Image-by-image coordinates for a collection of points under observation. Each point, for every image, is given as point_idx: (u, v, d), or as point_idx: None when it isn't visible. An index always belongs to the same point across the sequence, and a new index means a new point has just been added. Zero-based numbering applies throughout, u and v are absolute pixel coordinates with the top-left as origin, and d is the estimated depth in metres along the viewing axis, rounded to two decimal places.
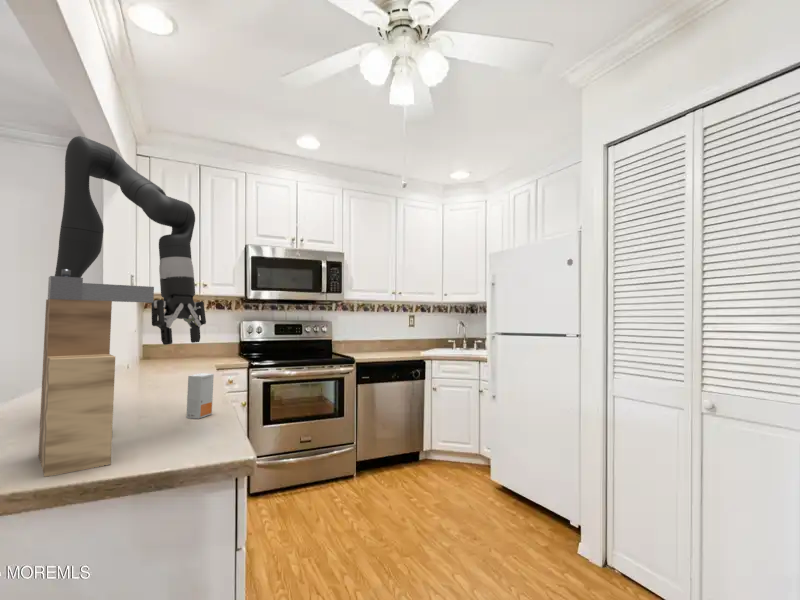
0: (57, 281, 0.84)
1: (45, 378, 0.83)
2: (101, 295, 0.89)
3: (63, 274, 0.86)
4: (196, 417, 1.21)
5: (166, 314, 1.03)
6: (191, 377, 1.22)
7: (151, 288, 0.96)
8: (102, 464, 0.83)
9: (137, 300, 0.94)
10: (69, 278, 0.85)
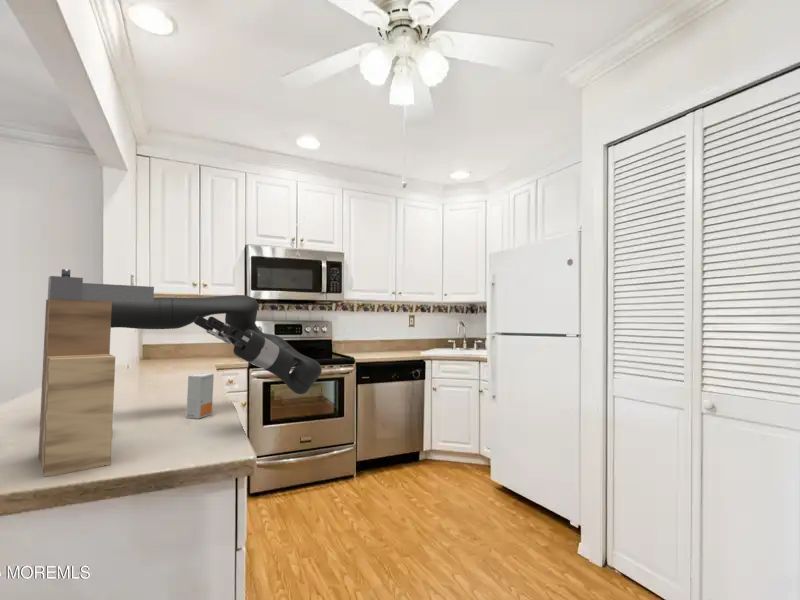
0: (57, 281, 0.84)
1: (45, 378, 0.83)
2: (101, 295, 0.89)
3: (63, 274, 0.86)
4: (196, 417, 1.21)
5: (234, 329, 1.07)
6: (191, 377, 1.22)
7: (151, 288, 0.96)
8: (102, 464, 0.83)
9: (137, 300, 0.94)
10: (69, 278, 0.85)
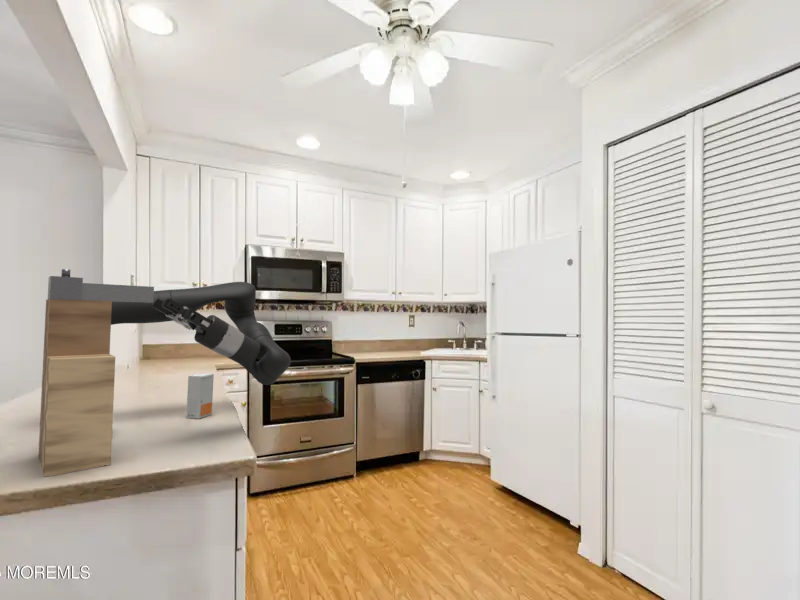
0: (57, 281, 0.84)
1: (45, 378, 0.83)
2: (101, 295, 0.89)
3: (63, 274, 0.86)
4: (196, 417, 1.21)
5: (194, 314, 1.01)
6: (191, 377, 1.22)
7: (151, 288, 0.96)
8: (102, 464, 0.83)
9: (137, 300, 0.94)
10: (69, 278, 0.85)
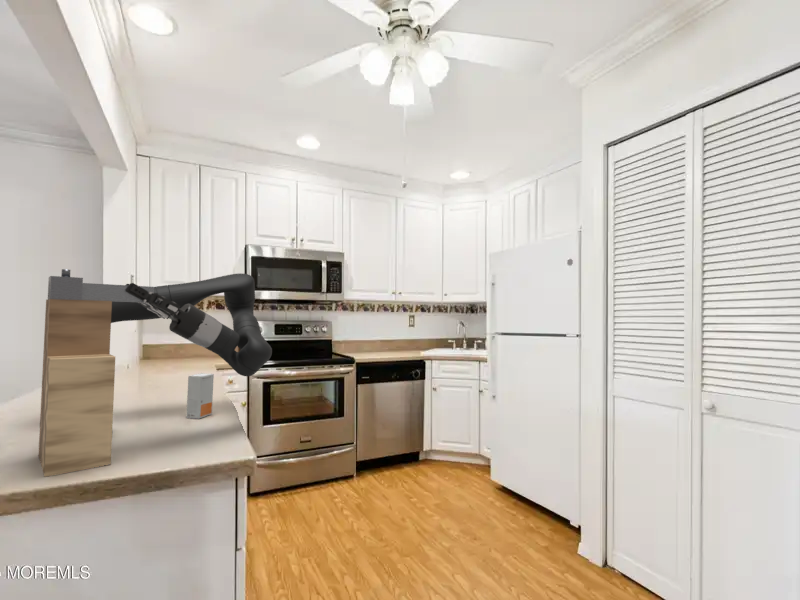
0: (57, 281, 0.84)
1: (45, 378, 0.83)
2: (101, 295, 0.89)
3: (63, 274, 0.86)
4: (196, 417, 1.21)
5: None
6: (191, 377, 1.22)
7: (151, 288, 0.96)
8: (102, 464, 0.83)
9: (137, 300, 0.94)
10: (69, 278, 0.85)
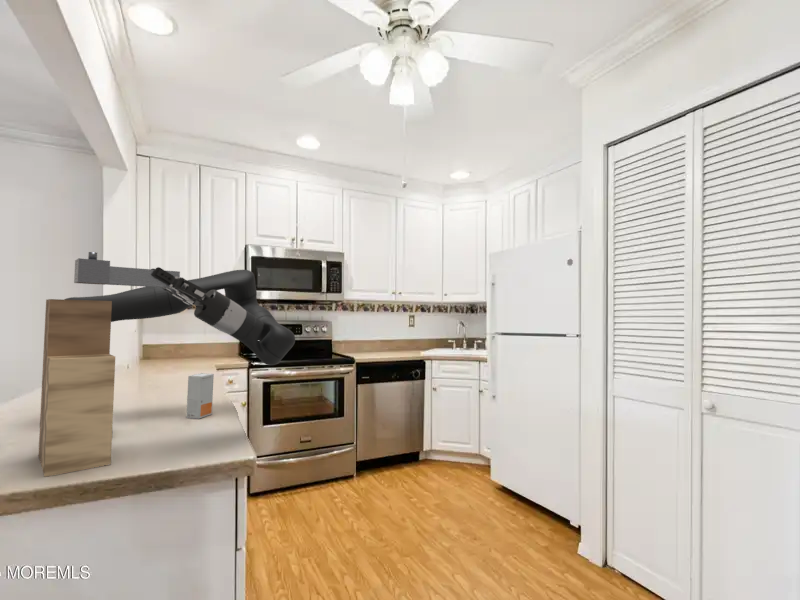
0: (85, 264, 0.82)
1: (45, 378, 0.83)
2: (128, 279, 0.88)
3: (90, 257, 0.84)
4: (196, 417, 1.21)
5: None
6: (191, 377, 1.22)
7: (177, 273, 0.94)
8: (102, 464, 0.83)
9: (163, 285, 0.92)
10: (96, 261, 0.83)
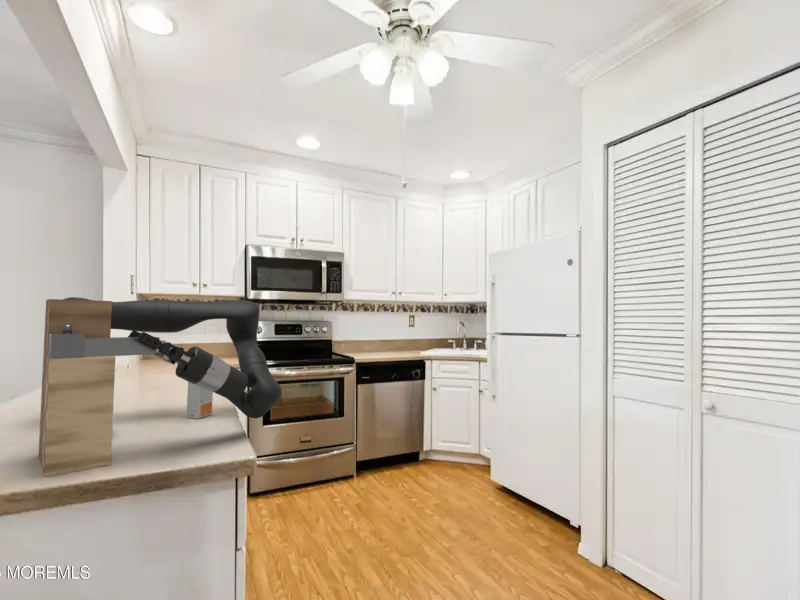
0: (58, 339, 0.79)
1: (45, 378, 0.83)
2: (104, 351, 0.85)
3: (64, 330, 0.81)
4: (196, 417, 1.21)
5: None
6: None
7: None
8: (102, 464, 0.83)
9: (142, 353, 0.89)
10: (71, 335, 0.80)
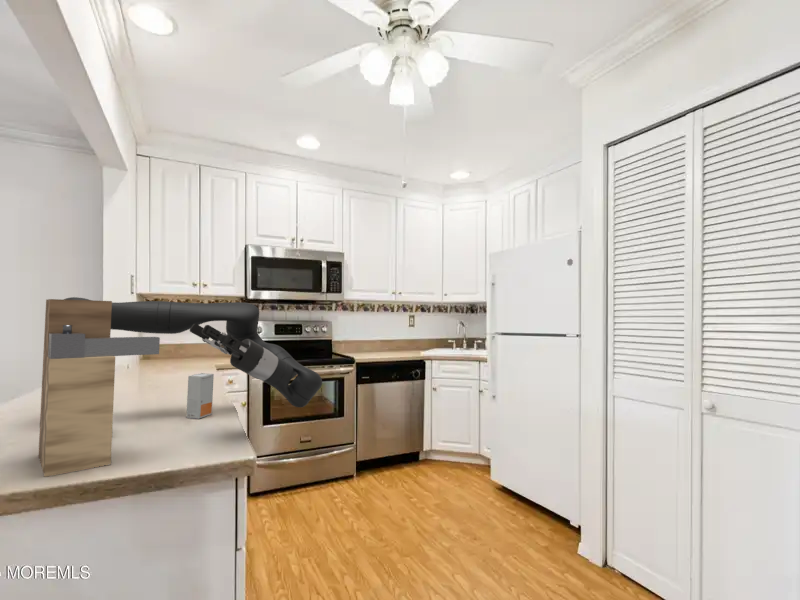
0: (58, 339, 0.79)
1: (45, 378, 0.83)
2: (104, 351, 0.85)
3: (64, 330, 0.81)
4: (196, 417, 1.21)
5: (231, 339, 1.02)
6: (191, 377, 1.22)
7: (157, 339, 0.91)
8: (102, 464, 0.83)
9: (142, 353, 0.89)
10: (71, 335, 0.80)
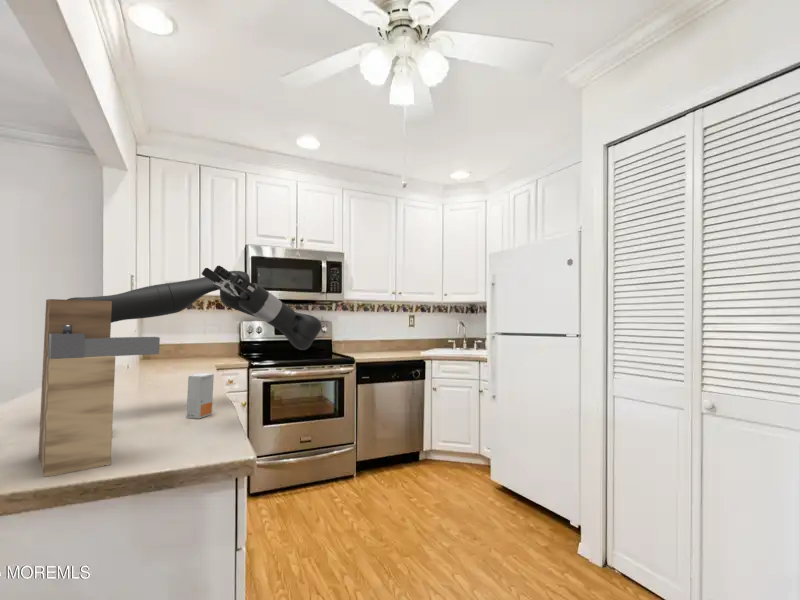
0: (58, 339, 0.79)
1: (45, 378, 0.83)
2: (104, 351, 0.85)
3: (64, 330, 0.81)
4: (196, 417, 1.21)
5: (240, 280, 1.12)
6: (191, 377, 1.22)
7: (157, 339, 0.91)
8: (102, 464, 0.83)
9: (142, 353, 0.89)
10: (71, 335, 0.80)
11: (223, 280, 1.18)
